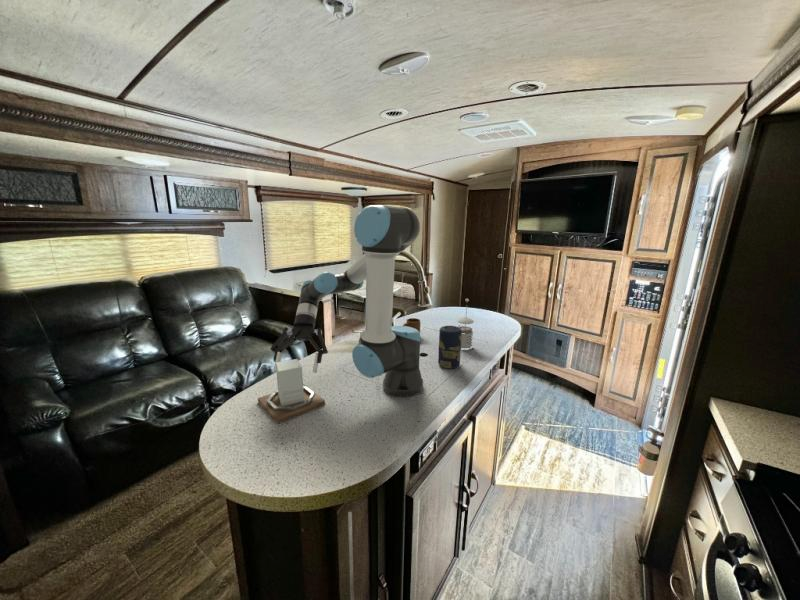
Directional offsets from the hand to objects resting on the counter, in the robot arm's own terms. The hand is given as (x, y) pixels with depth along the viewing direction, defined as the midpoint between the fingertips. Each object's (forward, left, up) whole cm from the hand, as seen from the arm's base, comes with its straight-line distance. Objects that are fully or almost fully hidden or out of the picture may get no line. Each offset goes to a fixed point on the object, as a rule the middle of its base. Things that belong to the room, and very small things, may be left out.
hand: (295, 371), depth 111 cm
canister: (-22, -60, -9) cm, 64 cm away
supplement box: (-4, +4, -7) cm, 10 cm away
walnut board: (-5, +4, -9) cm, 11 cm away
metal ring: (-5, +4, -7) cm, 9 cm away
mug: (+13, -72, -9) cm, 74 cm away
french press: (-14, -82, -9) cm, 83 cm away
